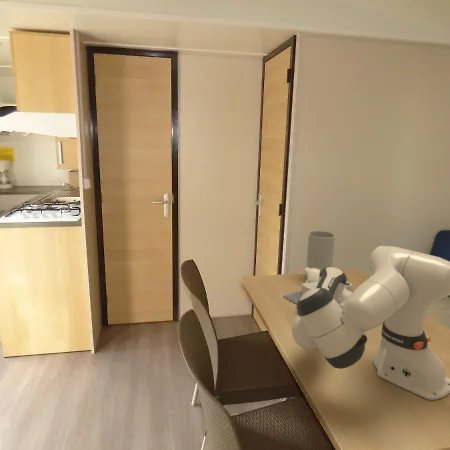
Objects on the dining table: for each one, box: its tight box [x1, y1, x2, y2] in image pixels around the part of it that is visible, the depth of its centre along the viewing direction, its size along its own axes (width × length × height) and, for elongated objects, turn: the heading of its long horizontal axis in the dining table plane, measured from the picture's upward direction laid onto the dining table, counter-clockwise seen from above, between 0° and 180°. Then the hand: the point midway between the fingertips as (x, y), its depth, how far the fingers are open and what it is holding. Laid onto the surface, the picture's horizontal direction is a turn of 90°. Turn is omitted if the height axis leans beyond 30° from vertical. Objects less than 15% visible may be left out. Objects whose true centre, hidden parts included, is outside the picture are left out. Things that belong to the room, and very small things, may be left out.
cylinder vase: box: [305, 230, 336, 280], centre depth 184 cm, size 12×12×25 cm
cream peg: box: [303, 267, 320, 283], centre depth 165 cm, size 8×5×14 cm, turn 18°
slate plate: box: [283, 290, 302, 305], centre depth 165 cm, size 18×18×1 cm
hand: (315, 280), depth 161 cm, fingers open, 8 cm apart
